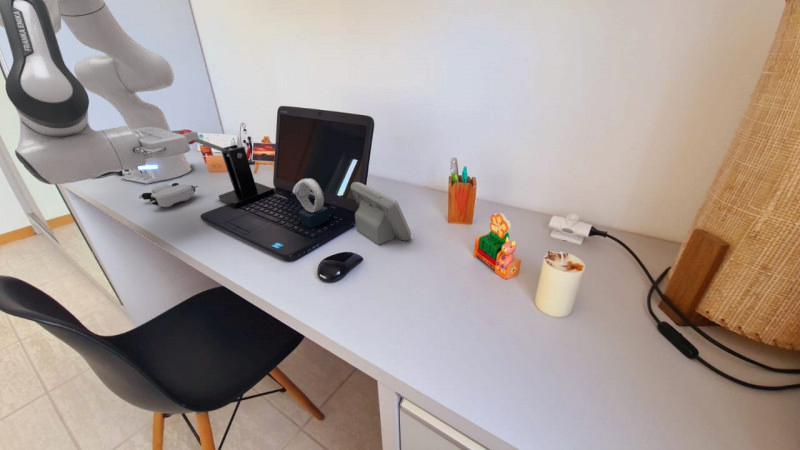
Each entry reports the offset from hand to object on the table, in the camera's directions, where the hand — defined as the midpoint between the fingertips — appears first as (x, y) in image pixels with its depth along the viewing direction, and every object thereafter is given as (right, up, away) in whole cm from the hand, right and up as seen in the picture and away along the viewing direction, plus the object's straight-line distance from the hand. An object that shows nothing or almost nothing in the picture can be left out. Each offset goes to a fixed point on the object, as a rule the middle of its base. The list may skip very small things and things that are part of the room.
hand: (192, 133), depth 81 cm
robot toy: (-16, -16, +16) cm, 28 cm away
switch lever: (+2, -4, +4) cm, 6 cm away
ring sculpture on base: (+31, -22, 0) cm, 38 cm away
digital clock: (+48, -24, -6) cm, 54 cm away
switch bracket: (+6, -14, +16) cm, 22 cm away
